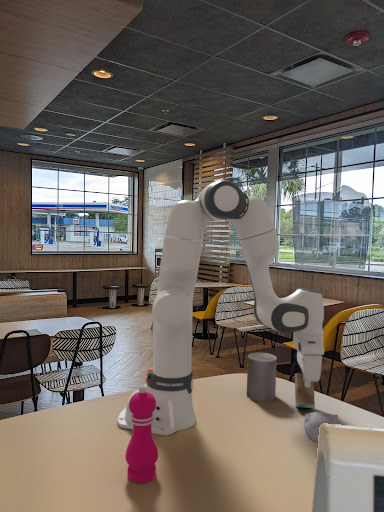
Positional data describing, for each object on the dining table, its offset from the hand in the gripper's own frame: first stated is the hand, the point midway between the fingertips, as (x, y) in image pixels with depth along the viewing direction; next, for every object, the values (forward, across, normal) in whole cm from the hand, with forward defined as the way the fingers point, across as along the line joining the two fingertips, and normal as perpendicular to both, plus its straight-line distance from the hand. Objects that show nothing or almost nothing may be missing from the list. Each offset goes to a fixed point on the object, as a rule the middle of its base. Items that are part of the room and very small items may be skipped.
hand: (306, 385), depth 119 cm
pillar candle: (+8, -10, -13) cm, 19 cm away
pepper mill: (+8, +39, -42) cm, 58 cm away
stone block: (+9, +12, +2) cm, 15 cm away
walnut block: (+7, -1, 0) cm, 7 cm away
